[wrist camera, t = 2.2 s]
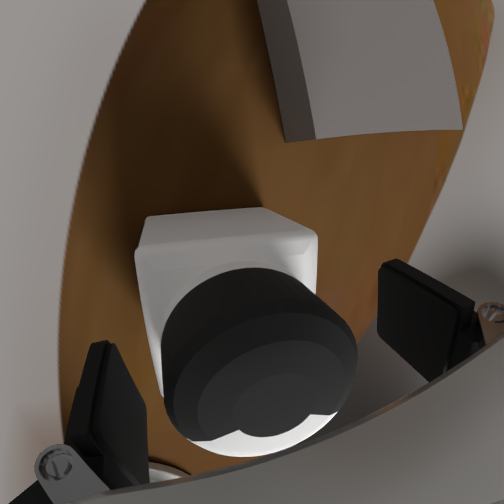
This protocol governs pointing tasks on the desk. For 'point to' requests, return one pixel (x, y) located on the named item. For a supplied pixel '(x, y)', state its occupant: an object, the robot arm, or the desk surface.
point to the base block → (359, 67)
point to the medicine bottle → (241, 329)
